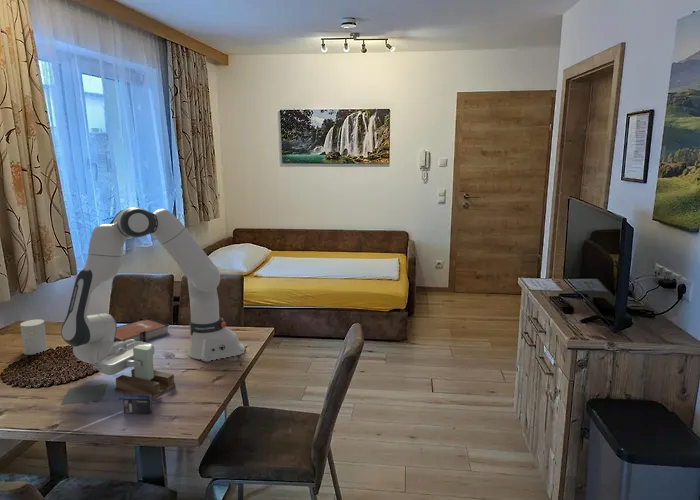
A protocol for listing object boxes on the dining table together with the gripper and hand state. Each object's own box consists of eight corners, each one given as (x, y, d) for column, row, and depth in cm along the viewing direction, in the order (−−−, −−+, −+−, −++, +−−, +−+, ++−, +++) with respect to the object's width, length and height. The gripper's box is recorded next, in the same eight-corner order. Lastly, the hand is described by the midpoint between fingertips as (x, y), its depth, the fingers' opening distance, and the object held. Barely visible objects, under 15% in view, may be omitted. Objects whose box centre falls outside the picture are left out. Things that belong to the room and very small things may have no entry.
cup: (18, 352, 197) (15, 324, 194) (38, 345, 204) (35, 318, 202) (32, 355, 194) (29, 327, 191) (51, 348, 201) (48, 321, 199)
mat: (107, 384, 171) (107, 383, 171) (101, 400, 159) (101, 399, 159) (69, 389, 167) (69, 388, 167) (60, 405, 156) (60, 404, 156)
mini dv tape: (124, 413, 152) (123, 396, 151) (126, 411, 153) (125, 393, 152) (150, 414, 152) (149, 396, 151) (152, 411, 153) (151, 394, 152)
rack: (139, 378, 176) (138, 366, 175) (175, 386, 170) (174, 373, 170) (115, 391, 166) (114, 379, 165) (152, 400, 160) (152, 387, 159)
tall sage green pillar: (140, 374, 169) (138, 344, 167) (154, 377, 167) (152, 347, 165) (134, 377, 167) (132, 347, 165) (148, 380, 165) (146, 350, 163)
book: (116, 352, 199) (115, 341, 198) (92, 343, 208) (91, 332, 208) (170, 334, 221) (169, 323, 220) (146, 326, 230) (146, 316, 229)
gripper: (88, 357, 160) (121, 364, 156) (135, 337, 179) (165, 342, 174) (90, 375, 161) (122, 383, 157) (136, 353, 180) (166, 359, 176)
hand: (145, 361), depth 166 cm, fingers closed on tall sage green pillar, 2 cm apart
